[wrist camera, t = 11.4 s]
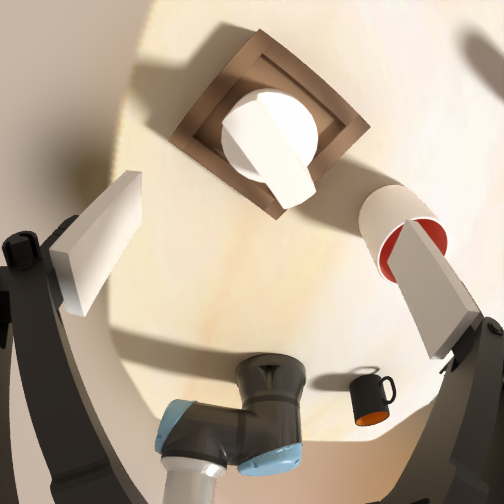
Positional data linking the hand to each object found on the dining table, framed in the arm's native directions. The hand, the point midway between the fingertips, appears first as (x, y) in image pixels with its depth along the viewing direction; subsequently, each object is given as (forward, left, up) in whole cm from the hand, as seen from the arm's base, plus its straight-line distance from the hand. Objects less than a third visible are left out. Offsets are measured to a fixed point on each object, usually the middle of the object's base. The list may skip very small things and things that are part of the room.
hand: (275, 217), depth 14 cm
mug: (-26, -56, -25) cm, 66 cm away
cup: (+2, -21, -25) cm, 32 cm away
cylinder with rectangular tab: (0, 0, -22) cm, 22 cm away
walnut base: (0, 0, -25) cm, 25 cm away
